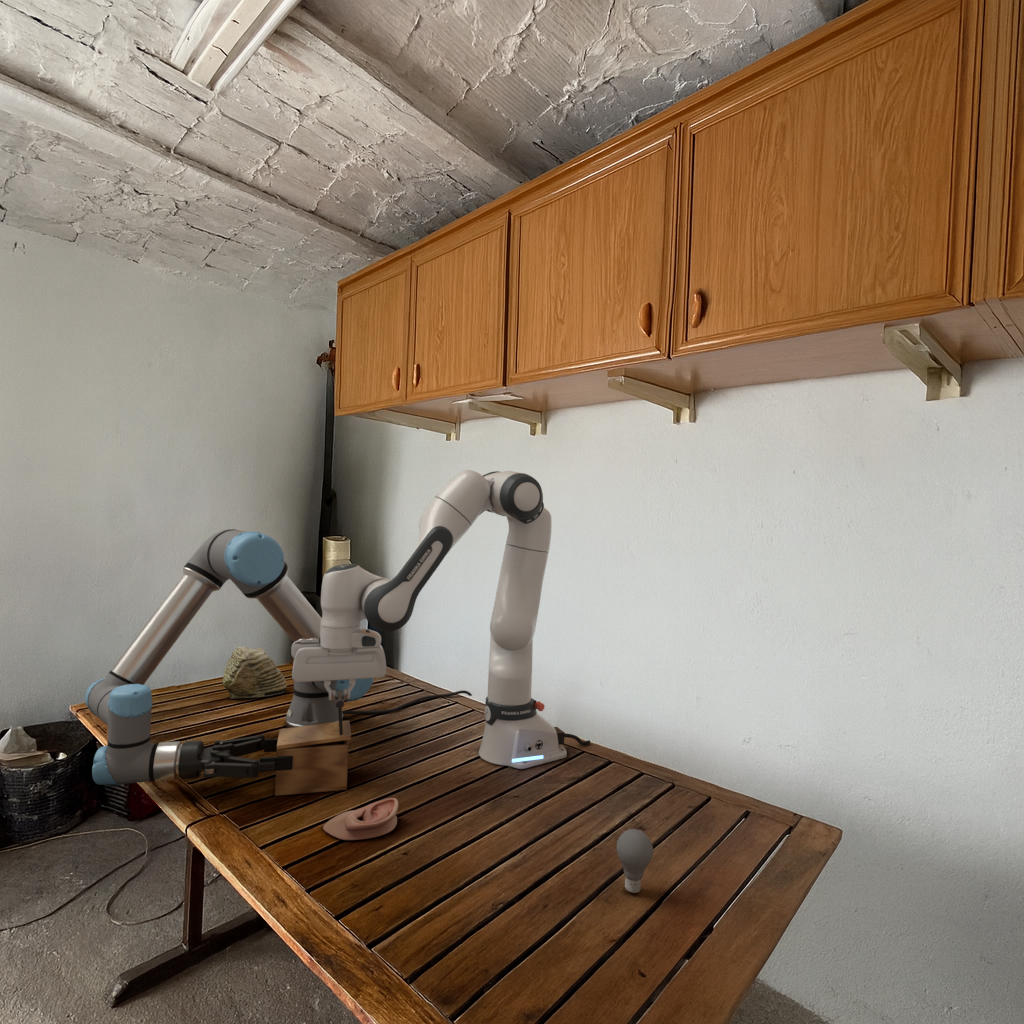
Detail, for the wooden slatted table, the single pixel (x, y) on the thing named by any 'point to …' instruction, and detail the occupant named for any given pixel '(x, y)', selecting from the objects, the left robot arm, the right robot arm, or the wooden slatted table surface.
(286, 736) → the lid
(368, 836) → the anatomical model
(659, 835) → the wooden slatted table surface
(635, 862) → the light bulb
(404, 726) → the wooden slatted table surface
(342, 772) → the chest
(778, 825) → the wooden slatted table surface
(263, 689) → the fossil
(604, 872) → the wooden slatted table surface
